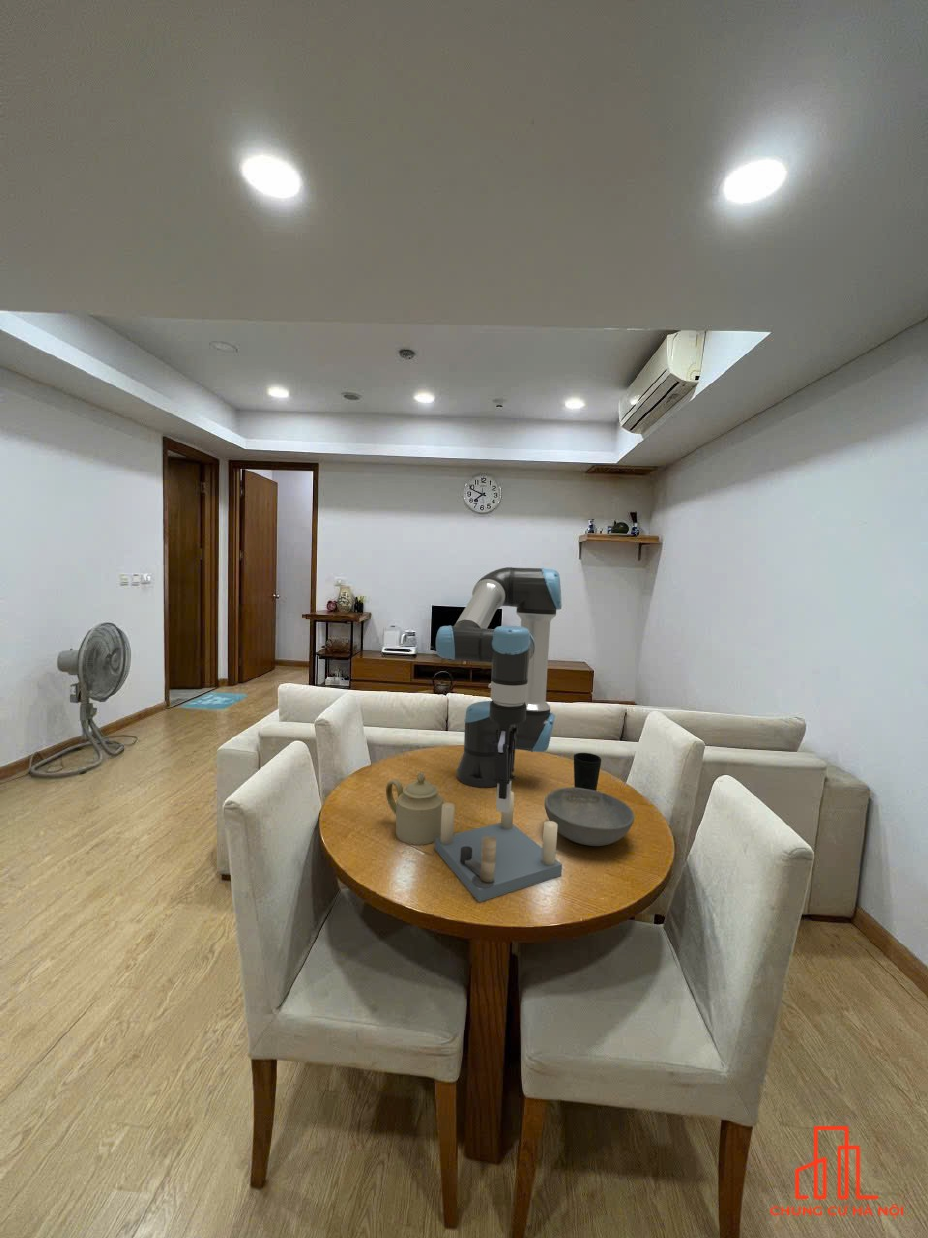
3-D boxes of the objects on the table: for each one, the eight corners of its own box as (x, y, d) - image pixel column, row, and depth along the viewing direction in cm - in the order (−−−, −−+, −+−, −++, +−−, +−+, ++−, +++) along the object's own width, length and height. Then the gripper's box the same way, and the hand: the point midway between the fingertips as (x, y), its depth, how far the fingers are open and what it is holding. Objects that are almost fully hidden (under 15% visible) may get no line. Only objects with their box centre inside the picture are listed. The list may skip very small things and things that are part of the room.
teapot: (373, 841, 113) (375, 778, 112) (386, 818, 124) (388, 760, 123) (437, 848, 112) (440, 784, 110) (445, 823, 122) (447, 765, 121)
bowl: (537, 813, 130) (539, 784, 129) (617, 817, 130) (619, 788, 129) (549, 859, 109) (551, 824, 108) (644, 864, 108) (646, 829, 108)
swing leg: (457, 859, 102) (458, 823, 101) (467, 855, 104) (469, 820, 103) (486, 884, 94) (488, 845, 94) (497, 879, 96) (499, 841, 95)
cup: (599, 806, 135) (602, 764, 134) (571, 802, 137) (573, 760, 136) (597, 794, 143) (600, 754, 142) (570, 791, 144) (573, 751, 143)
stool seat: (433, 849, 111) (435, 803, 110) (508, 830, 120) (510, 788, 119) (478, 903, 93) (481, 849, 92) (561, 876, 103) (565, 827, 102)
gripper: (497, 692, 108) (492, 794, 111) (482, 707, 96) (477, 822, 99) (531, 695, 106) (525, 799, 109) (520, 712, 94) (514, 829, 97)
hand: (503, 810), depth 104 cm, fingers closed
